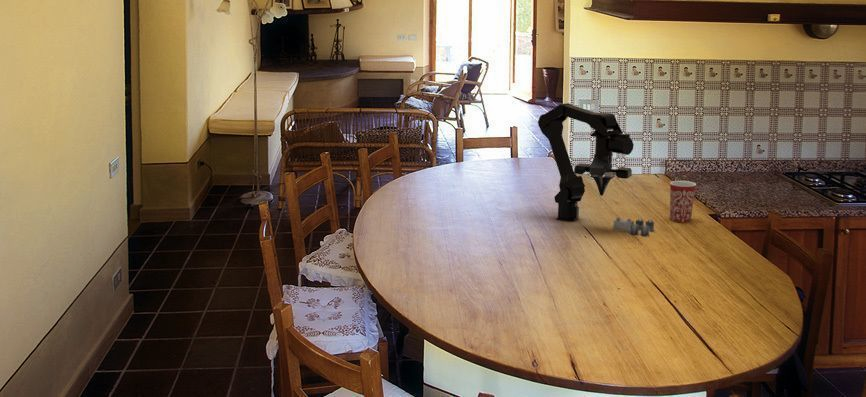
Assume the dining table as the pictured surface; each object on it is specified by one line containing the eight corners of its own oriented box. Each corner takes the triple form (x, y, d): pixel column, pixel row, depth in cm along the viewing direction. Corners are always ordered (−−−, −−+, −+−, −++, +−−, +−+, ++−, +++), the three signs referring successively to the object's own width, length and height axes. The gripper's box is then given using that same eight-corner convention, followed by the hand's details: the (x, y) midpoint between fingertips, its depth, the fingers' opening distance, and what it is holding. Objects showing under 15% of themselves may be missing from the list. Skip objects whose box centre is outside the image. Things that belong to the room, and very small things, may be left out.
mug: (696, 223, 310) (698, 186, 306) (670, 223, 310) (672, 185, 307) (688, 214, 322) (691, 178, 319) (663, 214, 322) (665, 178, 319)
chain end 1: (629, 234, 296) (630, 224, 295) (636, 227, 304) (637, 218, 303) (637, 235, 295) (637, 225, 294) (643, 228, 303) (644, 219, 302)
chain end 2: (640, 235, 294) (640, 225, 294) (646, 229, 302) (647, 219, 301) (647, 236, 293) (648, 226, 292) (654, 230, 301) (654, 220, 300)
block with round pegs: (613, 230, 301) (613, 218, 300) (616, 228, 304) (616, 216, 303) (630, 232, 299) (631, 220, 298) (633, 230, 302) (633, 218, 301)
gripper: (569, 152, 296) (568, 197, 300) (624, 156, 288) (622, 203, 291) (580, 147, 306) (578, 190, 309) (633, 151, 297) (630, 196, 301)
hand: (601, 195), depth 302 cm, fingers closed
